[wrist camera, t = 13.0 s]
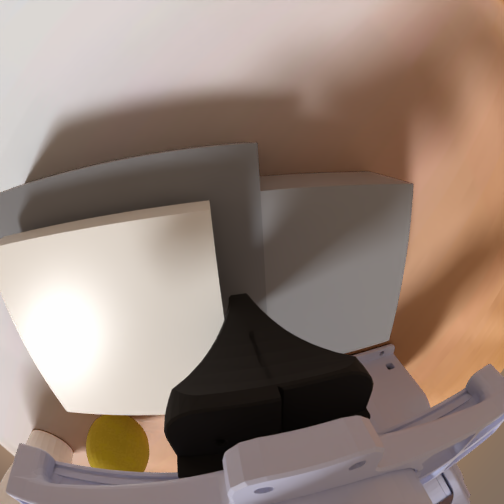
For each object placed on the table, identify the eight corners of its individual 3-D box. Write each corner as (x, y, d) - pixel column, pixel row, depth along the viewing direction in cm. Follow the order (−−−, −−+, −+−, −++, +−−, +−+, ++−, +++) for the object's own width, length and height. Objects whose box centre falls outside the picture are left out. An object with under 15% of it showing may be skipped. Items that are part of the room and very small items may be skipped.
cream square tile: (209, 200, 11) (210, 210, 9) (234, 385, 14) (238, 407, 13) (4, 236, 9) (-15, 249, 8) (73, 392, 13) (67, 411, 12)
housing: (368, 140, 16) (414, 145, 12) (355, 326, 21) (382, 362, 17) (23, 183, 13) (-19, 199, 9) (82, 360, 19) (67, 402, 14)
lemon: (119, 388, 20) (104, 467, 13) (163, 420, 22) (162, 493, 15) (84, 404, 20) (67, 473, 13) (126, 433, 23) (119, 498, 15)
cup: (104, 463, 25) (97, 549, 13) (53, 460, 25) (40, 532, 12) (50, 417, 21) (25, 518, 8) (4, 417, 20) (-23, 495, 8)
